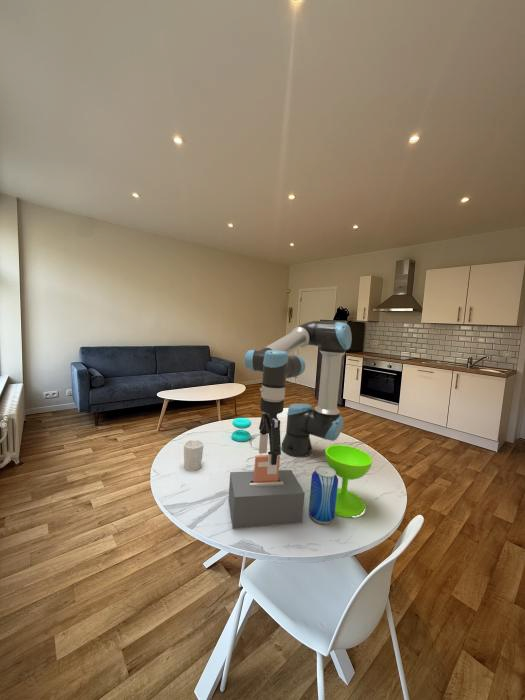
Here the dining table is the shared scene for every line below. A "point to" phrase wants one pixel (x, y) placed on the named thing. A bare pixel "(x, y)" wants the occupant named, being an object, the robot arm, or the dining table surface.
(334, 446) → the wineglass
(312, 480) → the beer can
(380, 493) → the dining table surface
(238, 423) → the donuts
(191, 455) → the white cup
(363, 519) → the dining table surface
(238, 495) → the dispenser
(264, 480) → the ticket
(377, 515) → the dining table surface
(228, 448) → the dining table surface
